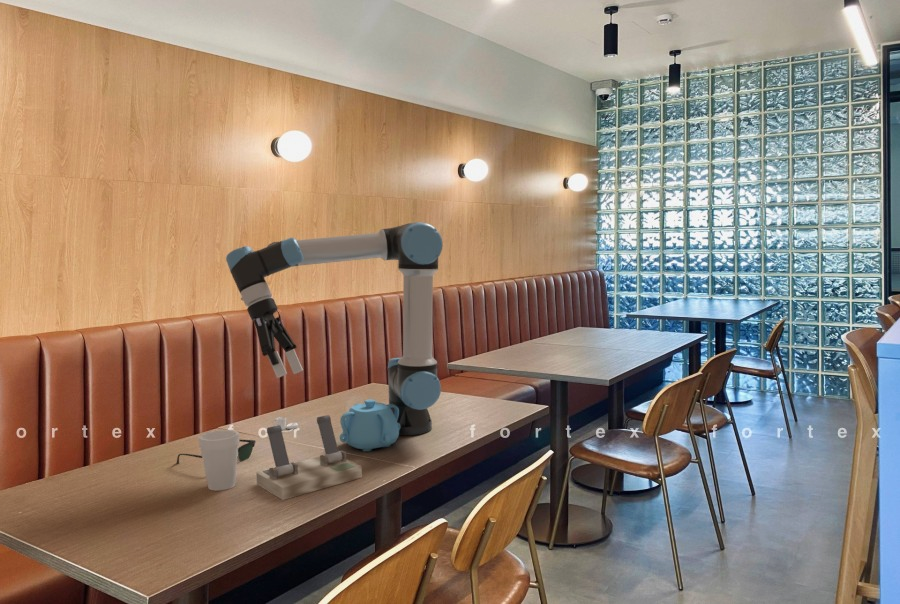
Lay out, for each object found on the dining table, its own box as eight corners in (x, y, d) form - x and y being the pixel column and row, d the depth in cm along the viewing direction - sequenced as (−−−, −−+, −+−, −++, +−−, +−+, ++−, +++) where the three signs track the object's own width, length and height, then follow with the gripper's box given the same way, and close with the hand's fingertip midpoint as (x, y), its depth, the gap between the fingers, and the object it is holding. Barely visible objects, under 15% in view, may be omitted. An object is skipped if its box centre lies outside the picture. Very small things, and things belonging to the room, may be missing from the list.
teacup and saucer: (300, 427, 227) (299, 415, 226) (292, 434, 219) (291, 421, 218) (273, 427, 228) (273, 414, 227) (265, 434, 220) (264, 421, 219)
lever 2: (339, 461, 182) (327, 415, 185) (343, 459, 180) (331, 413, 183) (325, 464, 180) (314, 418, 182) (329, 462, 178) (318, 416, 181)
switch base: (333, 464, 189) (332, 444, 188) (361, 477, 178) (361, 456, 177) (256, 484, 174) (255, 463, 174) (282, 499, 164) (281, 477, 163)
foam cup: (200, 494, 168) (197, 442, 167) (202, 481, 177) (200, 431, 176) (241, 490, 171) (238, 438, 169) (241, 477, 179) (239, 428, 178)
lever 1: (290, 473, 173) (278, 426, 176) (294, 471, 171) (282, 423, 174) (275, 477, 171) (264, 429, 173) (279, 475, 169) (267, 426, 172)
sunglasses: (211, 450, 204) (210, 433, 203) (257, 457, 197) (256, 439, 196) (167, 467, 189) (166, 449, 189) (215, 476, 182) (214, 457, 182)
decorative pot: (356, 436, 215) (355, 392, 213) (406, 439, 211) (404, 394, 209) (334, 452, 199) (332, 405, 198) (387, 455, 195) (385, 408, 194)
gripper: (263, 309, 202) (293, 376, 200) (228, 307, 177) (261, 383, 175) (286, 298, 201) (316, 365, 200) (254, 294, 176) (287, 371, 175)
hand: (290, 374), depth 188 cm, fingers open, 13 cm apart
